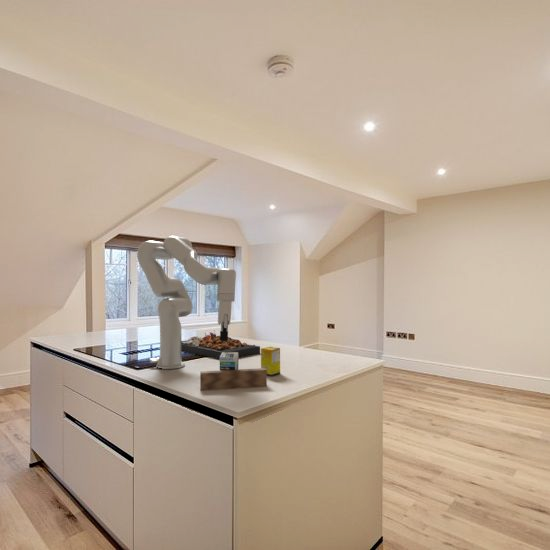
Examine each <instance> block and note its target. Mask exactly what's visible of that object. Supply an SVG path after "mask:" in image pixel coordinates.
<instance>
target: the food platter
mask: <svg viewBox="0 0 550 550" xmlns="http://www.w3.org/2000/svg"><path fill="white" fill-rule="evenodd" d="M214 332H216V331H215V329H214V331H213V332H211V331H210V332H209V333H208V334H207V333H206V332H204V336H203V337H202V336H201V337H199V336H198V335H195V336H192V337H190V338H188V339H187V340H181V352H184V351H186V352H185V353H188V352H191V353H190V354H193V353H195V354H194V355H197V354H199V356H202V355H203V357H206V356H207V357H208V358H211V359H216V360H220V356H221V354H222V352H238V359H239V358H240V359H241V358H244V357H249V356H254V355H261V346H259V345H256V344H248V343H247V342H243V343H242V342H241V340H240V339H235V338H232V337H230V336H228V340H227V341H220V334H219V335H217V334H216V333H214Z"/></svg>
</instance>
